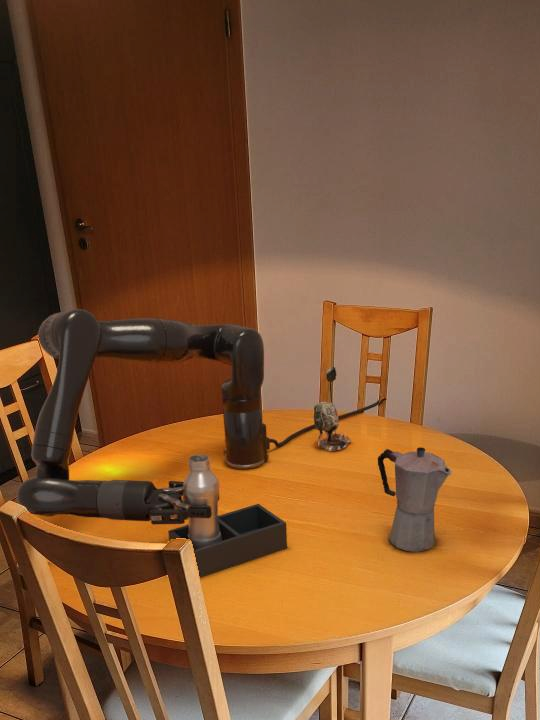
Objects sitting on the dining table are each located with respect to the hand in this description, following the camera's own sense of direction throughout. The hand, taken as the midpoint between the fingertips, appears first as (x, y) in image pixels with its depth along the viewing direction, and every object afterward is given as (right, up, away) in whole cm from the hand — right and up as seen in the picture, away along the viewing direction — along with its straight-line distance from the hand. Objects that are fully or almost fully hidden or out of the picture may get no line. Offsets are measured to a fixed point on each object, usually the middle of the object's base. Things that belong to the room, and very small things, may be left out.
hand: (214, 503), depth 145 cm
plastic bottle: (-2, -10, +5) cm, 11 cm away
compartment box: (+2, -9, +8) cm, 12 cm away
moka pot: (+37, -8, +10) cm, 39 cm away
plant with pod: (+25, +15, +56) cm, 63 cm away
